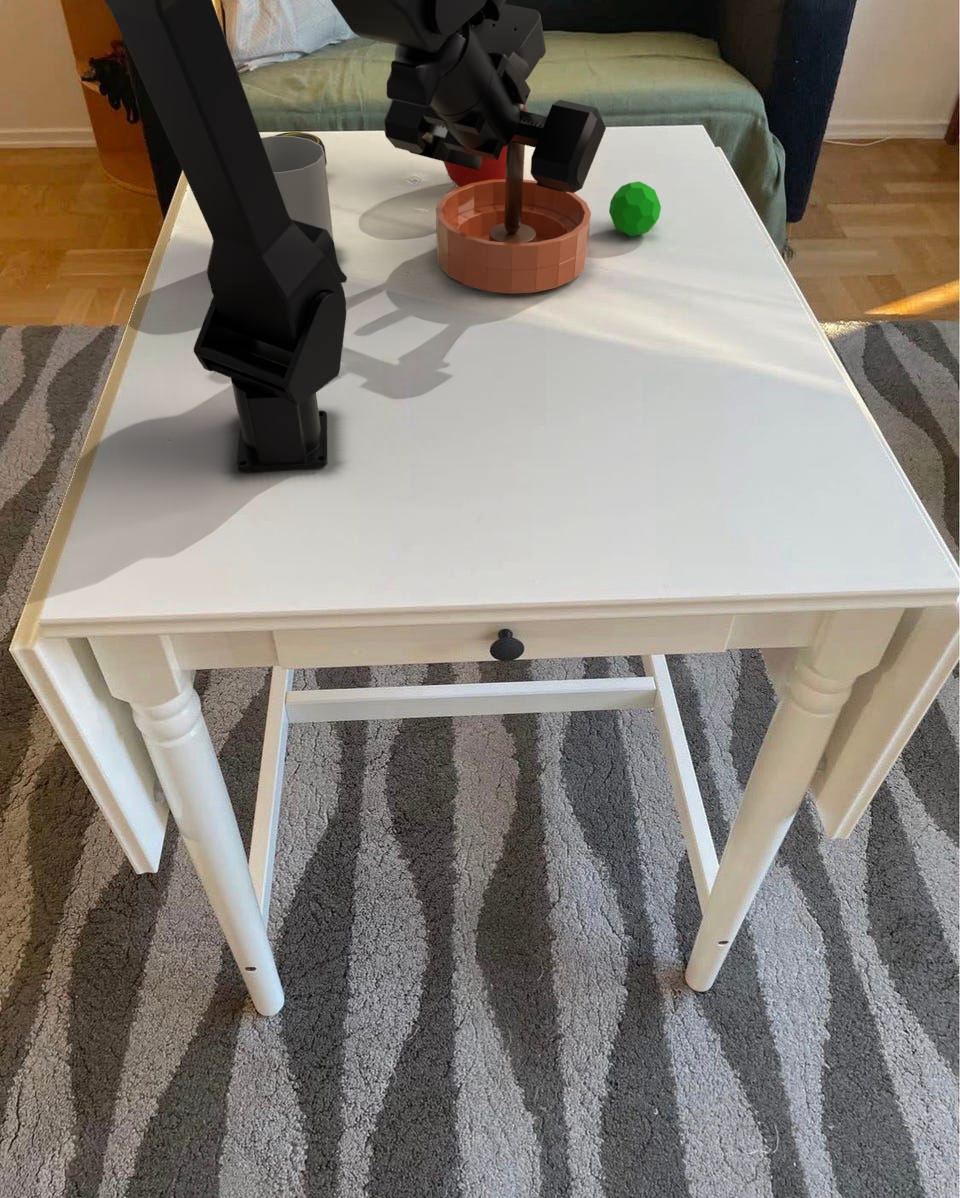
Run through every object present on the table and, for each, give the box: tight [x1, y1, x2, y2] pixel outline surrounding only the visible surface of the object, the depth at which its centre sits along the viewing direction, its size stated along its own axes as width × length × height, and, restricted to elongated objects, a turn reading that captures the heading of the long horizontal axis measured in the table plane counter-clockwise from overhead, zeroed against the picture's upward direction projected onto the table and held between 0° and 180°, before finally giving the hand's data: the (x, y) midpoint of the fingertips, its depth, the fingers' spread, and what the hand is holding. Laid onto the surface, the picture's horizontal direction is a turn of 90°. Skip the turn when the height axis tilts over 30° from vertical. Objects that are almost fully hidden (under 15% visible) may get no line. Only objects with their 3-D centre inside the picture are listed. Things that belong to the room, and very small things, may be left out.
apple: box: [442, 103, 529, 188], centre depth 99 cm, size 10×10×11 cm
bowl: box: [435, 179, 592, 294], centre depth 90 cm, size 14×14×5 cm
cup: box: [261, 135, 335, 242], centre depth 88 cm, size 8×8×10 cm
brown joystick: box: [489, 104, 536, 243], centre depth 86 cm, size 4×4×14 cm
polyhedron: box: [608, 181, 662, 237], centre depth 95 cm, size 5×5×5 cm
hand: (522, 175), depth 87 cm, fingers open, 9 cm apart
